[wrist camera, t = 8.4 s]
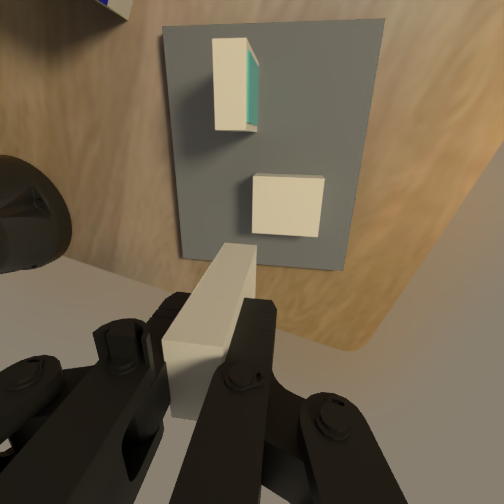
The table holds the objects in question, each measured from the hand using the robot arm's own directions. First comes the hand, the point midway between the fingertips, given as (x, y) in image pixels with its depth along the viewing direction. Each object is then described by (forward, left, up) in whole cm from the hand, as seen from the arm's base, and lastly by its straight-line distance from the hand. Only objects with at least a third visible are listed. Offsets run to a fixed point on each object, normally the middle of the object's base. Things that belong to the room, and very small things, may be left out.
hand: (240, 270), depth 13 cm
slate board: (+3, +2, -20) cm, 20 cm away
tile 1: (+7, +7, -19) cm, 21 cm away
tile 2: (-1, +1, -18) cm, 18 cm away
